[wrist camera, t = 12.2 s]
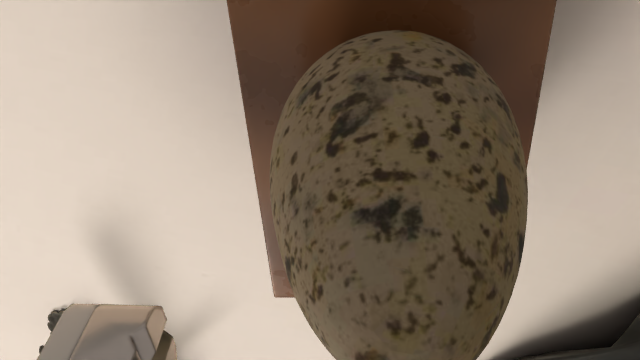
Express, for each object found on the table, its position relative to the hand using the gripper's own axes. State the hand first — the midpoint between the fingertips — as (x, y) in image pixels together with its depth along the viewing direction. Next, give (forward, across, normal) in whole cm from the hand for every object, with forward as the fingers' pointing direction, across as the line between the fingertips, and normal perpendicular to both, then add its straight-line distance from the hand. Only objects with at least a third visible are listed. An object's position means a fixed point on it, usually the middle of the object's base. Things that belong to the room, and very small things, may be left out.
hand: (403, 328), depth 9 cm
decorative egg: (+9, 0, 0) cm, 9 cm away
